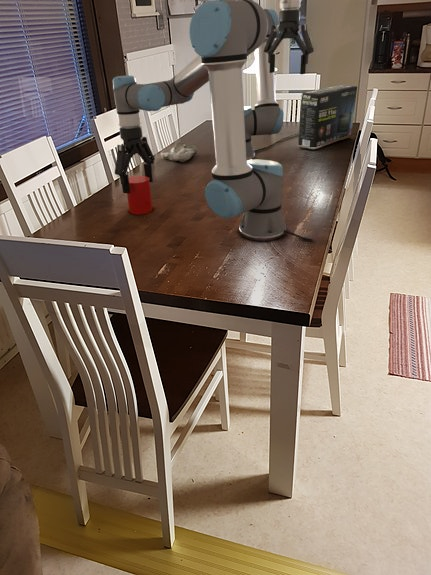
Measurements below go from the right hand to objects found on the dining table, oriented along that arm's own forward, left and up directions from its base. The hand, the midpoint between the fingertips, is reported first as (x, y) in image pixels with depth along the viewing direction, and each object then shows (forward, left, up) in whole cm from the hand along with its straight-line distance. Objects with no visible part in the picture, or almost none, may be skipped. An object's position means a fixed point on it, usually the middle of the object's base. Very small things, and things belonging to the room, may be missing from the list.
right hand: (138, 187), depth 166 cm
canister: (0, 0, -9) cm, 9 cm away
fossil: (+27, -65, -9) cm, 71 cm away
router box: (-30, -120, -9) cm, 124 cm away
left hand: (-32, -59, +32) cm, 74 cm away
